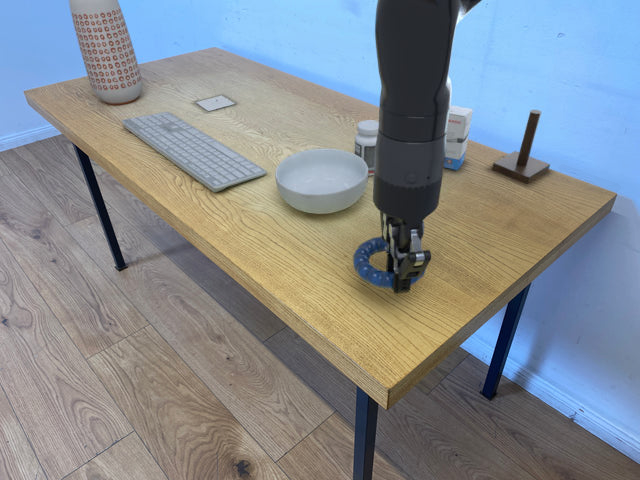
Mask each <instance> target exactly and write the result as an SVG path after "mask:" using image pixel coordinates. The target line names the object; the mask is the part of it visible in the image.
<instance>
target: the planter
mask: <svg viewBox="0 0 640 480" xmlns="http://www.w3.org/2000/svg"><path fill="white" fill-rule="evenodd" d="M68 4H69V9H70V10H69V11H70V14H71V19H72V23H73V28H74V31H75V36H76V40H77V42H78V43H77V44H78V45H79V46H78V47H79V50H80V54H81V57H82V61H83V65H84V68H85V71H86V74H87V78H88V81H89V85H90V86H91V89H92V91H93V93H94V94H95V96H97V98H99V99H100V100H101V101H103V102H104V103H105V104H107V105H110V106H122V105H127V104H131V103H133V102H135V101H136V100H138V97H139V95H140V94H141V92H142V89H143V79H142V74H141V70H140V67H139V64H138V60H137V55H136V52H135V48H134V46H133V42H132V39H131V35H130V33H129V30H128V25H127V23H126V20H125V17H124V13H123V11H122V7H121V5H120V2H119V0H68Z"/></svg>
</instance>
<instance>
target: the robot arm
mask: <svg viewBox="0 0 640 480" xmlns="http://www.w3.org/2000/svg"><path fill="white" fill-rule="evenodd" d="M482 1H483V0H377V4H376V9H375V17H374V18H375V19H374V38H375V39H374V41H375V51H376V58H377V59H376V60H377V67H378V75H379V79H380V85H381V86H380V96H379V107H378V109H379V112H378V122H379V128H378V135H377V140H376V145H375V162H374V175H373V183H372V184H373V185H372V186H373V187H372V202H373V205H374V207H375V208H376V209H377V210H378V211H379V214H380V215H379V217H380V218H379V219H380V229H381V236H380V237H381V238H382V240H383V242H384V241H386V243H385V251H384V252H385V253H386V263H385V271H386V272H393V284H392V289H391V290H392V292H393V293H394V294H396V295H398V294H406V293H409V292H410V291H411V286H412V285H411V279H412V278H415V277H421V275H422V273H423V272H424V270H425V268H426V267H427V268H428V265H429V264H430V262H431V260H432V253H431V251H430V250H429V249H425V250H423V247H422V239H423V237H424V234H425V222H424V220H425V219H426V218H427V217H428V216H430V215H432V214H433V213H434V212H435V211H436V210H437V208H438V206H439V204H440V196H441V191H442V185H443V178H444V177H443V176H444V168H445V167H444V163H445V156H446V133H447V125H448V118H449V111H450V105H452V104H451V103H452V92H453V90H452V80H451V78H450V76H449V73H450V67H451V60H452V54H453V46H454V39H455V35H456V29H457V25H458V24H459V23H460V22H461V21H462V20H463V19H464V18H465V17H466V16H467V15H468V14H469V13H470V12H471V11H473V9H474V8H475V7H476V6H478V5H479V4H480V3H481V2H482ZM427 268H426V269H427Z"/></svg>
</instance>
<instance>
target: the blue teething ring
mask: <svg viewBox="0 0 640 480" xmlns="http://www.w3.org/2000/svg"><path fill="white" fill-rule="evenodd" d="M385 243H386V241H384V242H383V240H382V238H381V236H376V237H371V238H369V239H368V240H366V241H364V242H362V243H360V244H359V245H358V247H357V248H356V250H355V251H354V253H353V255H352V262H353V263H352V265H353V269H354V271H355V273H356V274H357V275H358V276H359V278H361V280H362V281H364V282H366V283H368V284H370V285H372V286H374V287H377V288H380V289H389V290H393V289H392V284H393V272H386V270H381V269H379V268H376V267H374V266H373V265H372V263H371V262H370V259H371V257H373V256H374V255H376V254H379V253H383V252H386V251H385ZM427 269H428V266H427V267H426V268H425V270H424V272H423V273H422V275H421V277H415V278H412V279H411V286H413V285H414V284H416V283H417V282H419V281H420V280H422V279H423V278H424V276H425V273H426V271H427Z"/></svg>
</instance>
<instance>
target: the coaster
mask: <svg viewBox="0 0 640 480" xmlns="http://www.w3.org/2000/svg"><path fill="white" fill-rule="evenodd" d="M195 104H197V105H199V106H200V107H201V108H203V109H205V110H206V111H207V112H210V111H215V110H218V109H222V108H225V107H228V106H233V105H235V104H236V102H233V101H232V100H230V99H228V98H227V97H225V96H223V95H219V96H214V97H211V98H207V99H203V100H199V101H196V102H195Z"/></svg>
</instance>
